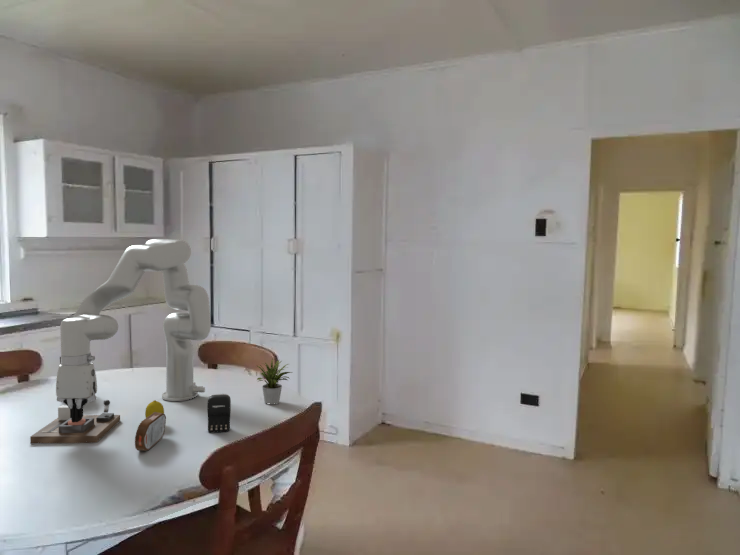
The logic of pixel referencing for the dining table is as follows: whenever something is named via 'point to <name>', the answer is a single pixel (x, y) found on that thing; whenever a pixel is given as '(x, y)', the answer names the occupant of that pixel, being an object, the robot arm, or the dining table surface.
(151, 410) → the lemon
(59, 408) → the block
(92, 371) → the robot arm
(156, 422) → the tin
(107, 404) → the toggle lever
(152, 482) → the dining table surface
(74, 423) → the push button
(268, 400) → the house plant
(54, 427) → the control board
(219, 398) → the battery charger
